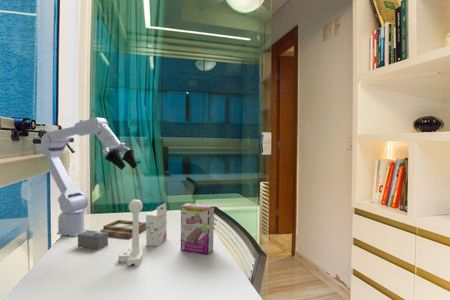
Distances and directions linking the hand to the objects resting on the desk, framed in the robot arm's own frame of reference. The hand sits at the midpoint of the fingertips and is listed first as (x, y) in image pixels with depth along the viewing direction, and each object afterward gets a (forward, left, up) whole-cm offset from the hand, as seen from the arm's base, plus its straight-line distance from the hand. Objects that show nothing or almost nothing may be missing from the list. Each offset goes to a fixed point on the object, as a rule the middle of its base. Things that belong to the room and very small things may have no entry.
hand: (129, 167), depth 109 cm
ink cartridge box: (+10, +3, -29) cm, 31 cm away
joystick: (+10, -14, -29) cm, 34 cm away
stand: (-9, +10, -29) cm, 32 cm away
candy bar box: (+28, 0, -29) cm, 41 cm away
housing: (-10, -8, -29) cm, 32 cm away
